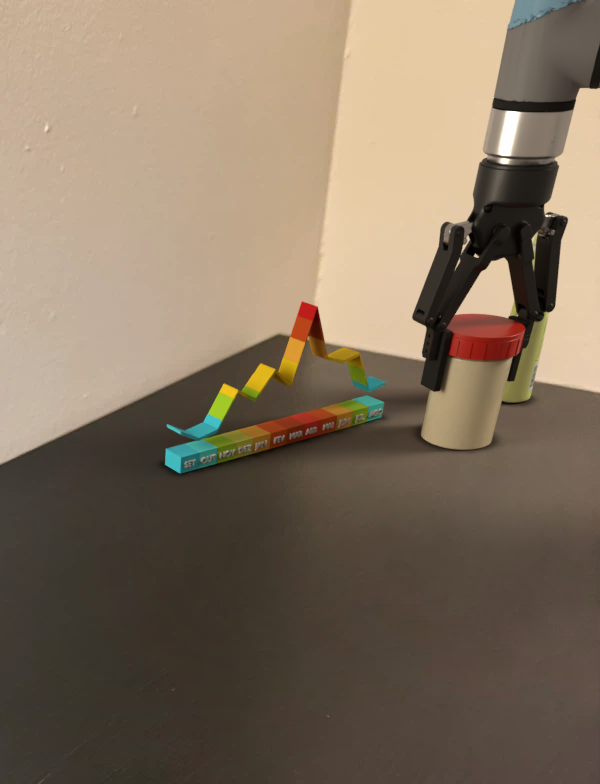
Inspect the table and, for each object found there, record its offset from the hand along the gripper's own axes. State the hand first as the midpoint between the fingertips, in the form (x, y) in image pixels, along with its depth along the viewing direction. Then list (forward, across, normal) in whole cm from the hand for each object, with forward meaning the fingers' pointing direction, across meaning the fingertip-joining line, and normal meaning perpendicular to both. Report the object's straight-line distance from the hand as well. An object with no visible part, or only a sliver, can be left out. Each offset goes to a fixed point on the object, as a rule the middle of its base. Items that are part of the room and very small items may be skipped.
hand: (467, 382), depth 112 cm
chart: (+7, +20, -6) cm, 22 cm away
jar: (+6, 0, 0) cm, 6 cm away
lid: (-6, 0, 0) cm, 6 cm away
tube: (+7, -14, -9) cm, 18 cm away
